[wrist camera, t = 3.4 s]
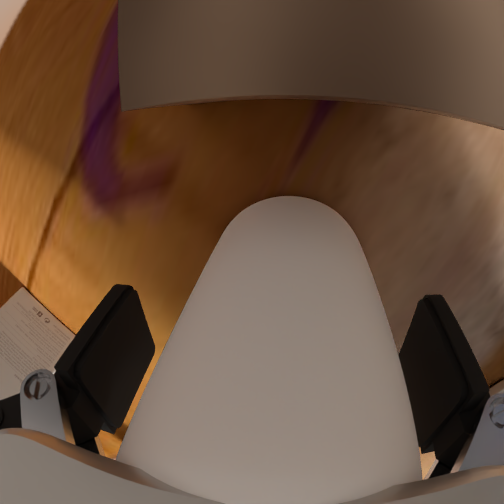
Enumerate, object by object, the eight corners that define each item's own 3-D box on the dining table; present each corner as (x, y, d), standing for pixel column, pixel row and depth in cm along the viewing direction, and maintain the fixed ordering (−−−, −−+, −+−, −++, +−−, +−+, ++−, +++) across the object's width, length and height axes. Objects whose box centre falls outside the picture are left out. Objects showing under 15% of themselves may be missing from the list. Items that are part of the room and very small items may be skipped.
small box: (22, 283, 17) (-78, 399, 6) (81, 337, 19) (-4, 473, 8) (15, 327, 21) (-55, 420, 10) (62, 370, 22) (2, 472, 11)
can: (379, 286, 13) (434, 550, 3) (263, 331, 16) (221, 562, 5) (321, 164, 11) (409, 581, 1) (191, 234, 13) (35, 495, 3)
